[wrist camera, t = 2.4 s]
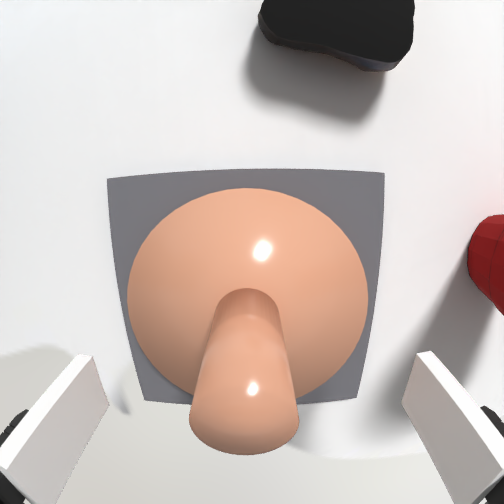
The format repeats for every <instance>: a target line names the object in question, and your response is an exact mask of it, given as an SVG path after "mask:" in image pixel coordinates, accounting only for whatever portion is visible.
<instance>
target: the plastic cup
mask: <svg viewBox="0 0 504 504" xmlns="http://www.w3.org/2000/svg"><path fill="white" fill-rule="evenodd" d="M467 265H468V270H469V275H470V277H471V278H472V280H473V281H474V283H475V284H476V285H477V287H478V288H479V289H480V290H481V291H482V292H483V293H484V294H485V295H486V296H487V297H488V298H489V299H490V300H491V301H492V302H493V303H494V305H495V306H496V308H497V309H498V310H499V311H500V312H501V313H502V314H503V315H504V214H502V215H493V216H489V217H487V218H486V219H485V220H483V221H482V222H481V223H480V224H479V225H478V227H477V229H476V230H475V232H474V234H473V236H472V239H471V242H470V245H469V248H468V261H467Z"/></svg>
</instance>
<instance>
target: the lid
mask: <svg viewBox="0 0 504 504" xmlns="http://www.w3.org/2000/svg"><path fill="white" fill-rule="evenodd" d="M127 304H128V313H129V318H130V322H131V326H132V329H133V332H134V334H135V337H136V339H137V342H138V343H139V345H140V347H141V349H142V350H143V352H144V354H145V355H146V357H147V358H148V359H149V361H150V362H151V363H152V365H153V366H154V367H155V368H156V369H157V370H158V371H159V372H160V373H161V374H162V375H163V376H164V377H166V378H167V379H168V380H169V381H170V382H172V383H173V384H174V385H176V386H178V387H179V388H181V389H182V390H184V391H186V392H188V393H190V394H192V395H194V397H193V401H192V406H191V410H190V414H189V423H190V427H191V429H192V431H193V432H194V434H195V435H196V436H197V437H198V438H199V439H200V440H201V441H202V442H203V443H205V444H206V445H208V446H210V447H212V448H214V449H216V450H219V451H221V452H225V453H229V454H236V455H255V454H262V453H266V452H269V451H272V450H275V449H277V448H279V447H281V446H282V445H284V444H286V443H287V442H288V441H289V440H290V439H291V438H292V437H293V436H294V435H295V433H296V431H297V429H298V426H299V416H298V410H297V405H296V398H298V397H301V396H303V395H305V394H307V393H309V392H311V391H313V390H314V389H316V388H317V387H319V386H320V385H322V384H323V383H325V382H326V381H327V380H328V379H330V378H331V377H332V376H333V375H334V374H335V373H336V372H337V371H338V370H339V369H340V368H341V367H342V366H343V365H344V363H345V362H346V361H347V359H348V358H349V357H350V355H351V354H352V352H353V351H354V349H355V347H356V345H357V343H358V341H359V339H360V336H361V334H362V331H363V328H364V325H365V320H366V316H367V308H368V289H367V281H366V277H365V272H364V268H363V266H362V263H361V261H360V258H359V255H358V254H357V252H356V250H355V248H354V246H353V245H352V243H351V241H350V240H349V239H348V237H347V236H346V235H345V234H344V232H343V231H342V230H341V229H340V228H339V227H338V226H337V225H336V224H335V223H334V222H333V221H332V220H331V219H330V218H329V217H328V216H326V215H325V214H323V213H322V212H321V211H319V210H318V209H316V208H315V207H313V206H311V205H309V204H307V203H305V202H303V201H302V200H300V199H298V198H295V197H293V196H290V195H287V194H284V193H281V192H278V191H272V190H267V189H262V188H235V189H226V190H222V191H217V192H213V193H210V194H207V195H205V196H202V197H199V198H197V199H194V200H192V201H190V202H188V203H186V204H184V205H183V206H181V207H179V208H177V209H176V210H174V211H173V212H172V213H170V214H169V215H168V216H167V217H165V218H164V219H163V220H162V221H161V222H160V223H159V224H158V225H157V226H156V227H155V228H154V229H153V230H152V231H151V232H150V234H149V235H148V236H147V238H146V239H145V241H144V242H143V244H142V245H141V247H140V249H139V251H138V253H137V255H136V257H135V259H134V262H133V265H132V268H131V271H130V276H129V282H128V289H127Z"/></svg>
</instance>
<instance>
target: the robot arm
mask: <svg viewBox="0 0 504 504" xmlns="http://www.w3.org/2000/svg"><path fill="white" fill-rule="evenodd" d="M401 404H402V406H403V408H404V409H405V411H406V413H407V415H408V417H409V418H410V420H411V422H412V424H413V425H414V427H415V429H416V431H417V433H418V435H419V436H420V438H421V440H422V442H423V444H424V446H425V447H426V449H427V451H428V453H429V455H430V457H431V459H432V461H433V463H434V464H435V466H436V468H437V470H438V472H439V474H440V476H441V478H442V480H443V482H444V484H445V486H446V488H447V490H448V492H449V494H450V496H451V498H452V500H453V502H454V504H479V503H480V502H481V501H482V500H483V498H486V500H487V502H486V503H485V504H504V423H503V422H501V419H500V418H499V417H498V416H497V414H496V413H495V412H494V411H492V410H491V409H489V408H487V407H486V406H483V407H479V406H478V405H477V403H476V402H475V401H474V400H473V399H472V397H471V396H470V395H469V394H468V393H467V391H466V390H465V389H464V388H463V387H462V385H461V384H460V383H459V382H458V381H457V380H456V378H455V377H454V376H453V375H452V374H451V373H450V372H449V370H448V369H447V368H446V367H445V366H444V365H443V364H442V362H441V361H440V360H439V359H438V358H437V357H436V356H435V355H434V353H433V352H432V351H427V352H421V353H416V357H415V360H414V364H413V367H412V370H411V374H410V377H409V380H408V383H407V386H406V389H405V392H404V395H403V398H402V401H401ZM108 406H109V402H108V400H107V397H106V395H105V392H104V389H103V386H102V383H101V381H100V378H99V375H98V372H97V369H96V365H95V362H94V359H93V356H88V355H82V354H78V355H77V356H76V357H75V358H74V359H73V360H72V361H71V363H70V364H69V365H68V366H67V367H66V368H65V369H64V370H63V372H62V373H61V374H60V375H59V376H58V377H57V378H56V380H55V381H54V382H53V383H52V384H51V385H50V387H49V388H48V389H47V390H46V391H45V392H44V394H43V395H42V396H41V397H40V398H39V400H38V401H37V402H36V403H35V404H34V406H33V407H32V408H31V409H30V410H24V411H23V412H21V413H20V414H18V415H17V416H16V417H15V418H14V419H13V420H12V421H11V423H10V426H7V427H6V429H5V430H4V433H3V432H2V434H1V435H0V504H24V503H23V502H24V500H25V498H26V499H27V500H28V501H29V502H30V503H31V504H56V502H57V500H58V498H59V496H60V494H61V492H62V490H63V488H64V486H65V484H66V483H67V480H68V479H69V477H70V475H71V473H72V471H73V469H74V467H75V466H76V464H77V462H78V460H79V458H80V456H81V454H82V453H83V451H84V449H85V447H86V445H87V444H88V442H89V440H90V438H91V436H92V435H93V433H94V431H95V429H96V428H97V426H98V424H99V422H100V421H101V419H102V417H103V415H104V413H105V412H106V410H107V408H108Z"/></svg>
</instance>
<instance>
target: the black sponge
mask: <svg viewBox="0 0 504 504" xmlns="http://www.w3.org/2000/svg"><path fill="white" fill-rule="evenodd" d="M414 11H415V4H414V0H264V1H263V3H262V6H261V10H260V12H259V14H258V22H259V25H260V28H261V30H262V32H263V34H264V35H265V37H266V38H267V39H268V40H269V41H270V42H272V43H274V44H277V45H281V46H286V47H289V48H293V49H297V50H304V51H311V52H318V53H325V54H328V55H331V56H334V57H336V58H338V59H341V60H344V61H346V62H349V63H351V64H353V65H354V66H356V67H358V68H359V69H361V70H363V71H374V72H378V71H389V70H392V69H393V68H395V67H396V66H397V64H398V63H399V62H400V61H401V60H402V59H403V57H404V56H405V55H406V54H407V53H408V51H409V50H410V48H411V45H412V42H413V30H414V24H413V16H414Z"/></svg>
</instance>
